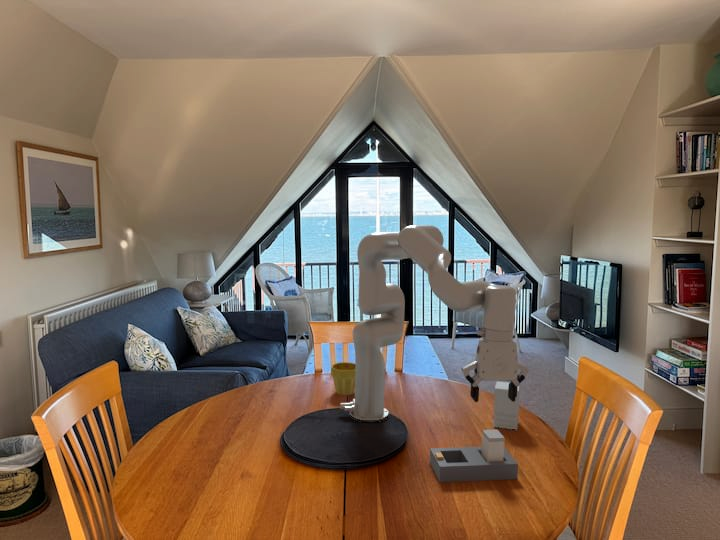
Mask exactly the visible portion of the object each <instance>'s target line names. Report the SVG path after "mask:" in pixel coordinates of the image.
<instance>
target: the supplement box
mask: <svg viewBox="0 0 720 540" xmlns="http://www.w3.org/2000/svg"><path fill="white" fill-rule="evenodd" d="M509 383H510V382H508V381H496V383H495V386H494V396H493V397H494V401H493V402H494V403H493V428H498V427H499V429H505V428H506V430H512V429H515V430H514V431H518V428H519V427H518V426H519V414H520V413H519V411H520V385H521V384H520V385H519V386H518V388H517V397H515V402H513V401H511V400H510V399H509V398H508V388H509Z"/></svg>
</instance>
